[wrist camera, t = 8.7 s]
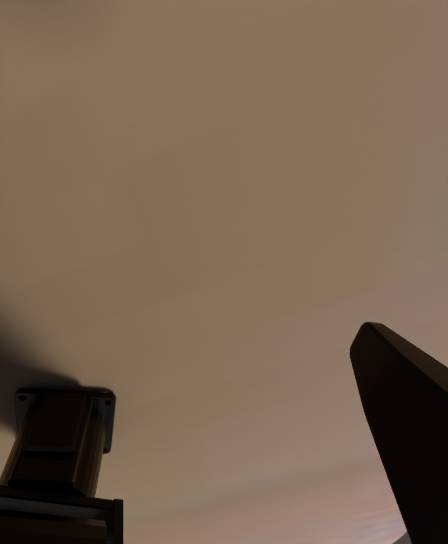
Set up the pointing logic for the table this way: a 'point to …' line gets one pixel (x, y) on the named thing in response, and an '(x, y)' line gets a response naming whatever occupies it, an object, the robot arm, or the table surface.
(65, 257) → the table surface
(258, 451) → the table surface
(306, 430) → the table surface
